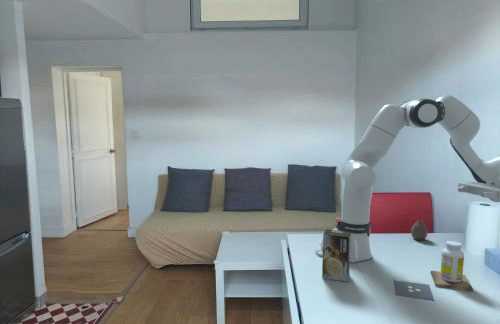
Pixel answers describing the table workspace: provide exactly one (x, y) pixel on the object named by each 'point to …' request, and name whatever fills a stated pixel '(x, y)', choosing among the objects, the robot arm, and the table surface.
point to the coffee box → (336, 255)
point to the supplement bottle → (452, 262)
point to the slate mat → (413, 290)
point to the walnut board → (443, 283)
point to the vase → (419, 231)
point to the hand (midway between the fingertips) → (470, 192)
